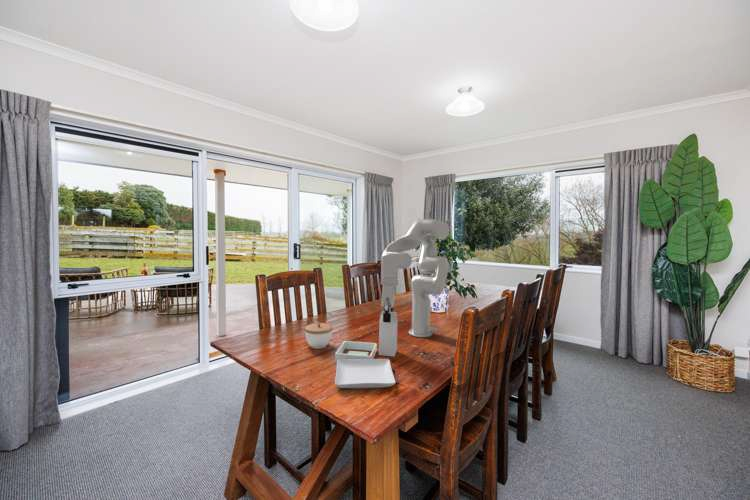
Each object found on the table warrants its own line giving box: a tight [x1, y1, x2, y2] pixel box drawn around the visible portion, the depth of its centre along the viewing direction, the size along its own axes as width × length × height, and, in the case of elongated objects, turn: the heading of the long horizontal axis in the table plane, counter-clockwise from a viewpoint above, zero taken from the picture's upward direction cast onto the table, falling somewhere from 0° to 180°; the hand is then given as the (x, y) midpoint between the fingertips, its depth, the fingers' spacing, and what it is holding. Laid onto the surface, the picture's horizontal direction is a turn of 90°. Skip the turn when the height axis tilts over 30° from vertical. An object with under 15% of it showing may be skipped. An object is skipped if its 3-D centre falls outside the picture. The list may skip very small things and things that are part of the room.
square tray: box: [334, 340, 378, 363], centre depth 140 cm, size 15×15×4 cm
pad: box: [346, 350, 370, 356], centre depth 140 cm, size 9×9×1 cm
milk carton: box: [378, 310, 398, 357], centre depth 143 cm, size 7×7×19 cm
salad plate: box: [334, 358, 396, 389], centre depth 120 cm, size 21×21×3 cm
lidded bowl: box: [304, 322, 333, 350], centre depth 151 cm, size 13×13×11 cm
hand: (387, 319), depth 143 cm, fingers open, 9 cm apart
